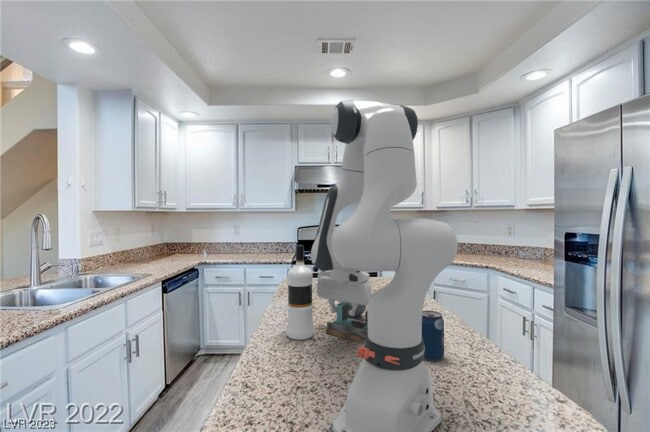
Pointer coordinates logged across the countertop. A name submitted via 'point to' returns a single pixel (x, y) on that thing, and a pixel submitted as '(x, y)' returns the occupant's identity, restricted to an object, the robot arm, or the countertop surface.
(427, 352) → the soda can
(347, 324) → the teal t-block
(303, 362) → the countertop surface
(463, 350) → the countertop surface
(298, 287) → the vodka
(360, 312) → the mortar and pestle
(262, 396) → the countertop surface
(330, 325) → the rail
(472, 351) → the countertop surface
